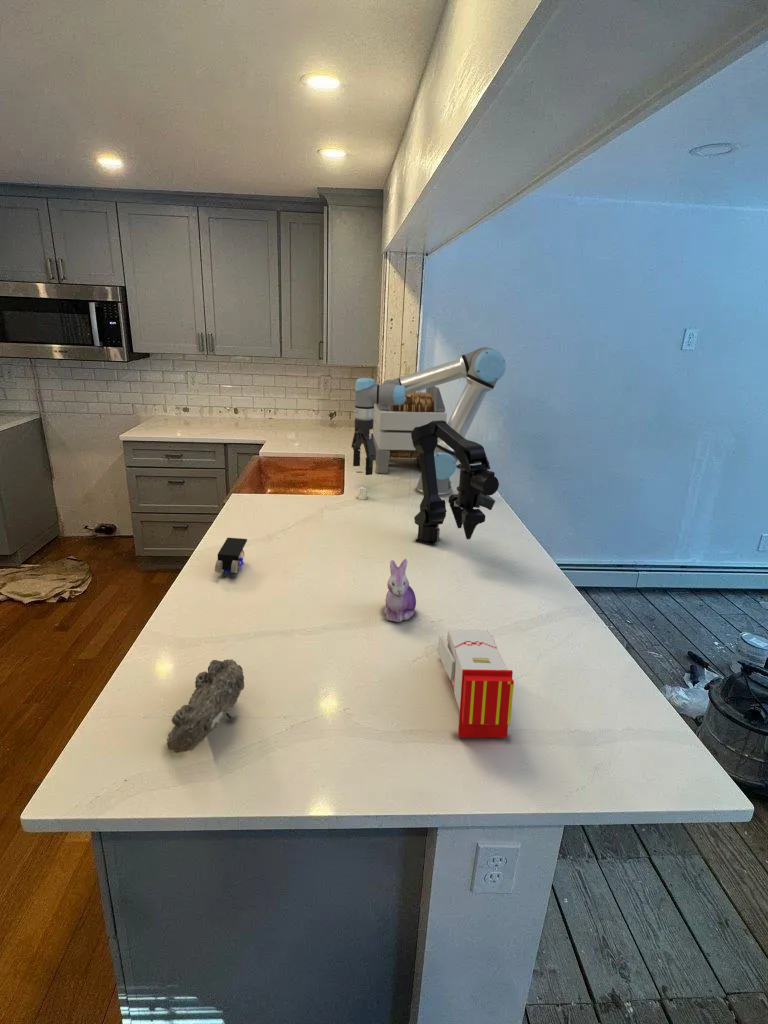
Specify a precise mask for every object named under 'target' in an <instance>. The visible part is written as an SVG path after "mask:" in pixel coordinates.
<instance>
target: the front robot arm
mask: <svg viewBox="0 0 768 1024" xmlns="http://www.w3.org/2000/svg"><path fill="white" fill-rule="evenodd" d="M411 438H412V441H413V446H414V448H415V449H416V450H417V452H418V453H419V465H420V467H421V469H420V477H421V476H422V485H423V494H422V495H423V497H422V500H421V502H420V504H419V512H418V513H417V514H416V515H415V516H413V517H414V524H416V525H417V526H418V527H417V538H416V539H415V542H417V543H421V544H425V545H430V546H435V544H436V543H437V542H438V541H439V540H440V532H441V528H439V526H440V525H443V524H444V521H445V518H446V516H447V512H448V511H447V508H446V506H447V505H446V501H445V499H442V497H441V496H439V495H438V486H437V477H436V468H435V458H434V451H435V448H436V446H437V444H438V438H440V439H441V440H442V441H444V442H445V443H446V444H447V445H448V446H449V447H450V448H452V449H453V450H454V451H455V457H456V458H457V459H458V460H457V461H458V462H459V464H456V469H458V470H460V471H459V481H458V486H456V491H457V493H451V494H449V495H448V504H449V508H450V510H451V513H452V516H453V518H454V522H455V524H456V527H457V529H462V528H463V531H464V535H465V539H466V540H471V538H472V536H473V534H474V531H475V529H476V528H477V526H478V525H479V524H483V523H485V522H486V514H485V513H484V512H483V511H482V510H481V509H480V507H482V508H485V509H487V510H488V511H492V509H493V507H494V505H495V503H496V500H495V499H494V498H493V497H492V496H493V495H494V494H496V492H497V491H498V489H499V487H500V483H499V479H498V478H497V476H495V471H493V470H491V466H490V461H489V459H488V457H487V453H486V450H485V448H484V446H483V445H482V444H480V443H478V442H476V441H473V440H469V439H467V438H464V437H462V436H461V435H460V434H459V433H457V432H456V431H455V430H454V429H453V428H451V427H450V426H449V425H448V421H447V420H446V421H444V420H437V421H432V422H430V423H428V424H426V425H423V426H420V427H415V428H414V430H413V431H412V433H411Z"/></svg>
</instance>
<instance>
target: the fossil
mask: <svg viewBox="0 0 768 1024" xmlns="http://www.w3.org/2000/svg"><path fill="white" fill-rule="evenodd" d="M243 670H244V669H243V667H242V665H240V664H237V662H236V661H235V660H234V659H232V658H231V659H227V658H226V659H224V660H223V661H222V660H217V659H212V660H211V661H210V663H209V665H208V666H207V671H201V672H199V673H198V674H197V675H196V676H195V680H194V684H195V685H194V687H195V689H194V690H193V693H192V694H191V697H190V698H189V700H188V704H184V705H182V706H181V707H180V709H177V710H176V711H175V713H174V715H173V716H172V718H171V723H172V724H173V727H172V730H171V731H170V732H168V734H167V738H166V741H167V742H166V745H167V749H168V750H169V751H173V752H174V753H176V754H178V753H182V752H188V751H189V752H192V751H193V750H195V748H196V747H197V746H199V744H200V743H201V742H203V741H204V740H205V739H206V738H207V737H208V736H209V735H210V734H211V733H212V732H214V730H215V729H217V727H218V726H219V724H220V722H221V721H222V720H223V719H224V718H225V716H226V717H227V719H229V720H233V717H232V715H230V714H229V710H230V709H231V708H234V706H235V704H236V703H237V702H238V699H239V697H240V695H241V693H242V691H243V690H245V689H244V688H245V675H244V671H243Z"/></svg>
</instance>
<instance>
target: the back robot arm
mask: <svg viewBox="0 0 768 1024" xmlns="http://www.w3.org/2000/svg"><path fill="white" fill-rule="evenodd" d="M506 369H507V363H506V359H505V357H504V355H503V354H502V353H501V352H500V351H498V350H497V349H494V348H491V347H480V348H477V349H474V350H473V351H470V352H467V353H464V354H462V355H459V357H458V359H454V360H451V361H448V362H444V363H442V364H438V365H435V366H431V367H429V368H426V369H421V370H419V371H415V372H412V373H409V374H406V375H403V376H399V377H396V378H393V379H387V380H384V381H385V382H384V381H383V383H382V384H377V383H376V380H375V379H374V378H370V377H359V378H357V379H356V380H355V389H354V392H355V393H354V410H353V413H354V417H355V418H354V433H353V437H352V441H351V448H352V450H353V455H352V458H353V460H352V466H353V467H360V466H361V450H362V449H361V446H362V445H363V447H364V452H365V455H366V457H365V473H364V474H365V476H372V475H373V467H374V460H376V459H375V458H376V455H375V448H374V441H373V433H370V432H371V431H370V430H373V427H374V404H390V405H403V404H404V402H405V395H407V394H410V393H414V392H421V391H423V390H426V389H427V388H430V387H433V386H435V387H438V386H439V385H442V384H446V383H449V382H450V383H451V382H453V381H456V380H460V379H466V384H465V387H464V389H463V391H462V392H461V395H460V397H459V399H458V401H457V403H456V405H455V407H454V409H453V411H452V414H451V415H450V418H449V420H448V421H447V424H448V425H449V426H450V427H451V428H453V429H454V430H455V431H456V432H457V433H459V434H460V435H461V436H462V437H464V438H465V437H466V435H467V433H468V431H469V430H470V427H471V426H472V424H473V421H474V419H475V417H476V416H477V413H478V411H479V409H480V407H481V405H482V403H483V401H484V399H485V397H486V396H487V393H488V392H490V391H493V390H494V388H495V387H496V384H497V382H498V381H499V380H500V379H502V378H503V376H504V374H505V372H506ZM376 402H377V403H376ZM465 439H466V438H465ZM434 458H435V468H436V477H437V486H438V495H439V497H445V496H450V495H452V489H453V488H452V481H451V480H450V478H451V477H452V476H453V475H454V474H455V472H456V469H457V468H456V466H457V462H458V461H459V460H458V459H457V458H456V457H455V451H454V450H453V449H452V448H450V447H449V446H448V445H447V444H446V443H445V442H444V441H442V440H441V439H440V438H439V439H438V444H437V446H436V448H435V451H434ZM419 460H420V458H416V465H417V467H418V468H419V470H421V467H420V462H419ZM416 491H417V492H418V493H419V494H421V495H423V485H422V476H421V475H420V477H419V479H418V482H417V484H416Z"/></svg>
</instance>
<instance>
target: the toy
mask: <svg viewBox="0 0 768 1024" xmlns="http://www.w3.org/2000/svg"><path fill="white" fill-rule="evenodd" d="M446 640H447V643H446V641H445V639H444V636H443V635H442V634H439V637H438V646H437V656H438V657H439V659H440V661H441V663H442V666H443V668H444V670H445V672H446V674H447V677H448V679H449V681H450V684H451V687H452V690H453V693H454V697H455V701H456V705H457V708H458V711H459V714H458V715H459V716H458V730H457V731H458V732H457V737H458V738H508V731H509V726H510V725H511V717H512V707H513V697H514V696H513V695H514V684H515V680H514V679H513V673H514V671H513V670H512V669H508V667H507V665H506V662H505V661H504V659H503V658H502V655H501V653H500V651H499V649H498V647H497V643H496V639H495V637H494V635H493V634H491V632H490V631H489V629H467V628H466V629H465V628H463V629H461V628H460V629H459V628H448V630H447V639H446Z"/></svg>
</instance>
